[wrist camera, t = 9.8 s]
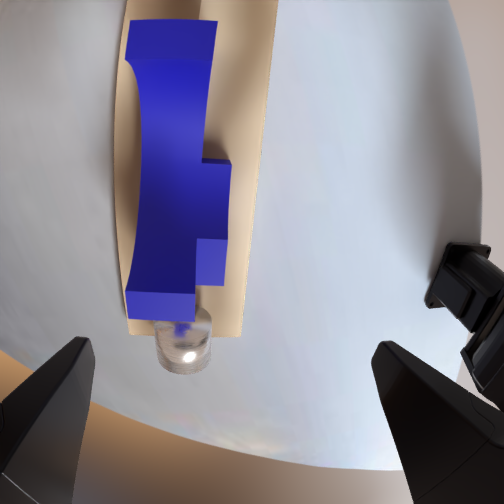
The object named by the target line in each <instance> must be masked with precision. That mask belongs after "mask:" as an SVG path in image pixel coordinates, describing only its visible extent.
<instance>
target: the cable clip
mask: <svg viewBox="0 0 504 504" xmlns="http://www.w3.org/2000/svg"><path fill="white" fill-rule="evenodd" d="M217 25H218V21H212V20H193V19H144V20H130V25H129V31H128V38H127V45H126V52H125V60H126V61H127V62H128V63H129V64H130V65H131V67H132V69H133V71H134V74H135V77H136V81H137V85H138V91H139V98H140V109H141V135H142V148H141V179H140V196H139V208H138V219H137V229H136V237H135V245H134V252H133V258H132V263H131V269H130V273H129V278H128V281H127V285H126V288H125V298H126V306H127V313H128V319H137V320H155V321H178V322H195V285H204V286H224V280H225V268H226V257H227V246H228V216H229V196H230V182H231V171H232V164H231V162H230V160H226V159H210V158H202V151H203V140H204V129H205V119H206V109H207V100H208V92H209V83H210V76H211V68H212V62H213V54H214V47H215V39H216V32H217Z"/></svg>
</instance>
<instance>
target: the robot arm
mask: <svg viewBox="0 0 504 504" xmlns="http://www.w3.org/2000/svg"><path fill="white" fill-rule="evenodd" d="M490 252H491V247H490V246H488V245H482V244H469V243H455V242H451V243H449V244H448V245H447V247H446V250H445V253H444V256H443V259H442V262H441V265H440V267H439V270H438V273H437V275H436V278H435V281H434V283H433V286H432V288H431V291H430V293H429V296H428V298H427V300H426V303H425V305H426V306H427V307H428V308H429V309H431V308H440V307H446V308H447V309H448V310H449V311H450V312H451V313H452V314H453V315H454V317H455V318H456V319H458V320H459V321H460V322H461V323H462V324H463V325H464V326H465V327H466V328H467V330H468V331H469V332H470V333H473V334H474V335H473V336H472V338H471V339H470V341H469V342H468V343H467V345H466V346H465V347H464V348H463V349H462V350H461V352H460V354H461V356H462V358H463V360H464V362H465V364H466V366H467V368H468V370H469V373H470V375H471V377H472V379H473V381H474V383H475V386H476V388H477V390H478V392H479V393H481V394H482V395H483V396H484V397H486V398H487V399H488V400H490V401H492V402H493V403H494V404H495V405H496V406H497V407H498V408H499V409H500V410H498V409H496V408H494V407H493V406H491V405H489V404H487V403H486V402H484V401H483V400H481V399H479V398H478V397H476V396H475V395H473V394H472V393H470V392H468V391H467V390H466V389H464V388H463V387H461V386H460V385H458V384H457V383H455V382H454V381H452V380H451V379H449V378H448V377H446V376H445V375H443V374H442V373H440V372H439V371H437V370H436V369H434V368H433V367H431V366H430V365H428V364H427V363H425V362H424V361H422V360H421V359H419V358H418V357H416V356H415V355H413V354H412V353H410V352H409V351H407V350H405V349H404V348H402V347H401V346H399V345H398V344H396V343H395V342H393V341H382V342H380V343H379V345H378V347H377V349H376V351H375V353H374V355H373V357H372V360H371V366H372V370H373V374H374V377H375V381H376V385H377V389H378V393H379V397H380V401H381V404H382V407H383V410H384V413H385V416H386V419H387V422H388V424H389V427H390V430H391V433H392V436H393V439H394V442H395V445H396V448H397V451H398V454H399V457H400V460H401V463H402V466H403V470H404V472H405V476H406V479H407V482H408V486H409V489H410V493H411V496H412V499H413V503H414V504H504V272H503V271H502V270H501V269H499V268H498V267H497V266H496V265H494V264H493V263H492V262H490V261H489V260H488V257H489V255H490ZM94 369H95V356H94V352H93V349H92V345H91V341H90V339H89V338H87V337H79V336H77V337H75V338H74V339H72V340H71V341H70V342H69V343H68V344H66V345H65V346H64V347H63V348H62V349H61V350H59V351H58V352H57V353H56V354H55V355H53V356H52V357H51V358H50V359H49V360H48V361H47V362H45V363H44V364H43V365H42V366H41V367H40V368H38V369H37V370H36V371H35V372H34V373H33V374H32V375H30V376H29V377H28V378H27V379H26V380H25V381H24V382H23V383H22V384H20V385H19V386H18V387H17V388H16V389H15V390H14V391H13V392H11V393H10V394H9V395H8V396H7V397H6V398H5V399H4V400H3V401H2V403H0V504H72V497H73V490H74V483H75V477H76V471H77V465H78V460H79V454H80V449H81V444H82V438H83V434H84V430H85V425H86V420H87V416H88V411H89V406H90V398H91V390H92V383H93V375H94Z"/></svg>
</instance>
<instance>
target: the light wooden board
mask: <svg viewBox="0 0 504 504" xmlns="http://www.w3.org/2000/svg"><path fill="white" fill-rule="evenodd" d="M277 7H278V0H127V5H126V11H125V17H124V23H123V30H122V37H121V45H120V54H119V63H118V73H117V86H116V101H115V123H114V189H115V211H116V227H117V240H118V251H119V261H120V271H121V279H122V287H123V295H124V302H125V309H126V315H127V321H128V327H129V333H130V335H148V336H155V333H154V324H153V320H137V319H128V313H127V306H126V298H125V288H126V285H127V281H128V278H129V273H130V269H131V263H132V258H133V252H134V245H135V237H136V229H137V219H138V208H139V196H140V179H141V148H142V135H141V109H140V98H139V91H138V85H137V81H136V77H135V74H134V71H133V69H132V67H131V65H130V64H129V63H128V62H127V61H126V60H125V52H126V45H127V38H128V31H129V25H130V20H144V19H193V20H212V21H218V25H217V32H216V39H215V47H214V54H213V62H212V68H211V76H210V83H209V92H208V100H207V109H206V119H205V129H204V140H203V151H202V158H210V159H226V160H230V162H231V164H232V171H231V182H230V196H229V216H228V246H227V257H226V268H225V280H224V286H204V285H195V305H198V306H200V307H202V308H204V309H205V310H206V311H208V313H209V314H210V316H211V318H212V336H211V337H241V328H242V319H243V310H244V301H245V292H246V283H247V274H248V265H249V256H250V247H251V238H252V229H253V220H254V211H255V202H256V193H257V184H258V175H259V166H260V157H261V148H262V139H263V130H264V121H265V112H266V104H267V95H268V86H269V77H270V68H271V60H272V51H273V42H274V33H275V25H276V16H277Z"/></svg>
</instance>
